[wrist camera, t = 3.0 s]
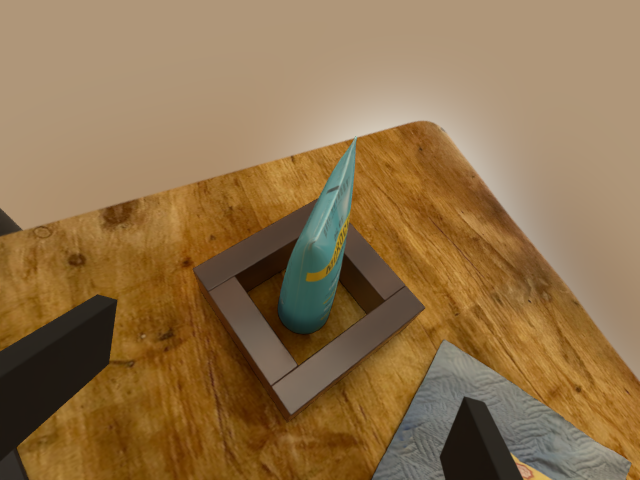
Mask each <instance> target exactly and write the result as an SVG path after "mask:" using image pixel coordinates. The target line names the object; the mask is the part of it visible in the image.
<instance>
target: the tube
mask: <svg viewBox="0 0 640 480" xmlns="http://www.w3.org/2000/svg"><path fill="white" fill-rule="evenodd" d="M356 140H357V136H355V138H354V141H353V143H352V144H351V145H350V147H349V148H348V150H347V151H346V152H345V154H344V155H343V157H342V158H341V159H340V161H339V162H338V164H337V165H336V167H335V169H334V170H333V172H332V174H331V175H330V177H329V179H328V181H327V183H326V185H325V187H324V189H323V191H322V193H321V195H320V196H319V198H318V200H317V202H316V204H315V206H314V208H313V211H312V213H311V215H310V217H309V219H308V221H307V223H306V225H305V227H304V229H303V231H302V233H301V235H300V237H299V239H298V240H297V242H296V245H295V247H294V249H293V251H292V254H291V257H290V260H289V263H288V266H287V269H286V272H285V276H284V280H283V284H282V288H281V292H280V297H279V302H278V314H279V318H280V320H281V322H282V323H283V324H284V325H285V326H286V327H287V328H288V329H289V330H291V331H293V332H295V333H299V334H309V333H313V332H315V331H317V330H319V329H320V328H321V327H322V326H323V325H324V324H325V323H326V321H327V319H328V316H329V314H330V310H331V307H332V303H333V300H334V296H335V292H336V288H337V284H338V280H339V275H340V270H341V265H342V260H343V254H344V249H345V243H346V237H347V231H348V225H349V218H350V210H351V200H352V191H353V180H354V168H355V147H356Z"/></svg>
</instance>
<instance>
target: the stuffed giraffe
mask: <svg viewBox="0 0 640 480" xmlns="http://www.w3.org/2000/svg"><path fill="white" fill-rule="evenodd" d="M464 396H465V397H469V398H472V399H476V400H480V401H483V402H485V404H486V406H487V407H488V409H489V411H490V413H491V415H492V417H493V419H494V421H495V423H496V425H497V427H498V429H499V431H500V433H501V435H502V437H503V439H504V441H505V443H506V445H507V447H508V449H509V451H510V453H511V455H512V457H513V459H514V461H515V463H516V465H517V467H518V469H519V471H520V473H521V475H522V477H523V479H524V480H626V476H627V473H628V472H629V468H630V466H631V462H629V461H628V460H626V459H625V458H624V457H622V456H621V455H619V454H618V453H616V452H614V451H612V450H610V449H608V448H606V447H604V446H602V445H601V444H599V443H598V442H596V441H594V440H593V439H591V438H590V437H589V436H587V435H586V434H584V433H583V432H582V431H580V430H579V429H577V428H576V427H575V426H573V425H572V424H571V423H570V422H568V421H566V420H565V419H564V418H563V417H562V416H561V415H559V414H558V413H556V412H554V411H553V410H552V409H550V408H548V407H547V406H546V405H544V404H543V403H541V402H539V401H538V400H537V399H535V398H533V397H532V396H530V395H528V394H527V393H526V392H524V391H523V390H522V389H520V388H519V387H518V386H516V385H515V384H513V383H512V382H510V381H508V380H507V379H506V378H504V377H503V376H501V375H500V374H498V373H497V372H495V371H493V370H492V369H490V368H489V367H487V366H486V365H484V364H482V363H481V362H479V361H478V360H476V359H474V358H473V357H471V356H470V355H468V354H467V353H465V352H463V351H462V350H460V349H459V348H457V347H456V346H455V345H453V344H451V343H450V342H448V341H446V340H443V342H442V344H441V345H440V347H439V350H438V352H437V354H436V356H435V358H434V360H433V362H432V364H431V366H430V369H429V371H428V373H427V375H426V377H425V378H424V381H423V382H422V384H421V386H420V388H419V390H418V391H417V393H416V395H415V397H414V399H413V401H412V403H411V405H410V407H409V409H408V411H407V413H406V415H405V417H404V419H403V421H402V423H401V425H400V426H399V428H398V430H397V432H396V434H395V436H394V438H393V440H392V442H391V444H390V445H389V447H388V449H387V451H386V453H385V455H384V456H383V458H382V460H381V462H380V463H379V466H378V468H377V470H376V472H375V474H374V476H373V478H372V480H445V476H444V473H443V469H442V465H441V461H440V458H439V457H440V454H441V452H442V449H443V447H444V444H445V442H446V439H447V437H448V435H449V432H450V430H451V427H452V425H453V422H454V420H455V417H456V415H457V412H458V410H459V407H460V405H461V402H462V400H463V398H464Z"/></svg>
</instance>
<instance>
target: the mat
mask: <svg viewBox="0 0 640 480" xmlns="http://www.w3.org/2000/svg"><path fill="white" fill-rule="evenodd" d="M0 480H28V477H27V475H26V472H25V470H24V467H23V465H22V462H21V459H20V457H19V454H18V452H17V449H16V448H15V449H14V450H12V451H11V452H10V453H9V454H8V455H7V456H6V457H5V458H3V459H2V460H1V461H0Z"/></svg>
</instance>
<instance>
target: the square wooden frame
mask: <svg viewBox="0 0 640 480" xmlns="http://www.w3.org/2000/svg"><path fill="white" fill-rule="evenodd" d="M317 200H318V199H316V200H314V201H312V202H310V203H309V204H307V205H305V206H303V207H302V208H300V209H298V210H296V211H294V212H293V213H291V214H289V215H287V216H286V217H284V218H282V219H280V220H278V221H277V222H275V223H273V224H271V225H270V226H268V227H266V228H264V229H262V230H261V231H259V232H257V233H255V234H254V235H252V236H250V237H248V238H246V239H245V240H243V241H241V242H239V243H238V244H236V245H234V246H232V247H230V248H229V249H227V250H225V251H223V252H222V253H220V254H218V255H216V256H214V257H213V258H211V259H209V260H207V261H206V262H204V263H202V264H200V265H198V266H197V267H195V268H193V272H194V274H195V277H196V280H197V282H198V285H199V288H200V290H201V293H202V294H203V296H204V297H205V299H206V300H207V302H208V303H209V305H210V306H211V308H212V309H213V311H214V312H215V314H216V315H217V317H218V318H219V320H220V321H221V323H222V324H223V326H224V327H225V329H226V330H227V332H228V333H229V335H230V336H231V338H232V340H233V341H234V343H235V344H236V346H237V347H238V349H239V350H240V352H241V353H242V355H243V356H244V358H245V359H246V361H247V362H248V364H249V365H250V367H251V368H252V370H253V371H254V373H255V374H256V376H257V377H258V379H259V380H260V382H261V383H262V385H263V386H264V388H265V389H266V391H267V392H268V394H269V396H271V399H272V400H273V402H274V403H275V405H276V406H277V408H278V409H279V411H280V412H281V414H282V415H283V417H284V418H285V420H286V421H287V422H289V421H290V420H292V419H293V418H294V417H295V416H297V415H298V414H299V413H300V412H302V411H303V410H304V409H305V408H307V407H308V406H309V405H310V404H312V403H313V402H314V401H315V400H316V399H318V398H319V397H320V396H321V395H323V394H324V393H325V392H326V391H328V390H329V389H330V388H331V387H333V386H334V385H335V384H336V383H337V382H339V381H340V380H341V379H342V378H344V377H345V376H346V375H347V374H349V373H350V372H351V371H352V370H354V369H355V368H356V367H357V366H359V365H360V364H361V363H362V362H363V361H365V360H366V359H367V358H368V357H370V356H371V355H372V354H373V353H375V352H376V351H377V350H378V349H380V348H381V347H382V346H383V345H385V344H386V343H387V342H388V341H389V340H391V339H392V338H393V337H394V336H396V335H397V334H398V333H399V332H401V331H402V330H403V329H404V328H406V327H407V326H408V325H409V324H410V323H411V322H412V321H413V320H414V319H415V318H416V317H417V316H418V315H419V314H420V313H421V312H422V311H423V310H424V309H425V307H424V305H423V304H422V303H421V302H420V301H419V300H418V299H417V298H416V297H415V295H414V294H413V293H412V292H411V291H410V290H409V289H408V288H407V286H405V284H404V283H403V282H402V281H401V280H400V278H399V277H398V276H397V275H396V274H395V273H394V272H393V271H392V269H391V268H390V267H389V266H388V265H387V264H386V263H385V262H384V260H383V259H382V258H381V257H380V256H379V255H378V254H377V253H376V251H375V250H374V249H373V248H372V247H371V246H370V245H369V244H368V242H367V241H366V240H365V239H364V238H363V237H362V236H361V235H360V233H359V232H358V231H357V230H356V229H355V228H354V227H353V226H352V225H351V223H350V222H349V225H348V231H347V237H346V243H345V249H344V254H343V260H342V265H341V270H340V275H339V280H340V282H341V283H342V284H343V285H344V287H345V288H346V289H347V290H348V291H349V293H350V294H351V295H352V296H353V298H354V299H355V300H356V301H357V302H358V304H359V305H360V306H361V307H362V308H363V310H364V311H365V312H366V313H367V315H366V316H364V317H363V318H362V319H360V320H359V321H358V322H356V323H355V324H354V325H352V326H351V327H350V328H348V329H347V330H346V331H344V332H343V333H342V334H340V335H339V336H338V337H336V338H335V339H334V340H332V341H331V342H330V343H328V344H327V345H326V346H324V347H323V348H322V349H320V350H319V351H318V352H316V353H315V354H314V355H312V356H311V357H310V358H308V359H307V360H306V361H304V362H303V363H302V364H300V365H299V366H298V365H297V363H296V362H295V360H294V359H293V358H292V356H291V355H290V353H289V352H288V351H287V349H286V348H285V346H284V345H283V343H282V342H281V341H280V339H279V338H278V336H277V335H276V334H275V332H274V331H273V329H272V328H271V327H270V325H269V324H268V322H267V321H266V320H265V318H264V317H263V315H262V314H261V312H260V311H259V310H258V308H257V307H256V305H255V304H254V303H253V301H252V300H251V298H250V297H249V296H248V294H247V293H246V292H248V291H249V290H251V289H253V288H254V287H256V286H257V285H259V284H261V283H262V282H264V281H265V280H267V279H269V278H270V277H272V276H273V275H275V274H277V273H278V272H280V271H282V270H283V269H285V268H286V267H287V266H288V263H289V260H290V257H291V254H292V251H293V249H294V247H295V245H296V242H297V240H298V239H299V237H300V235H301V233H302V231H303V229H304V227H305V225H306V223H307V221H308V219H309V217H310V215H311V213H312V211H313V208H314V206H315V204H316V202H317Z"/></svg>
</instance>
